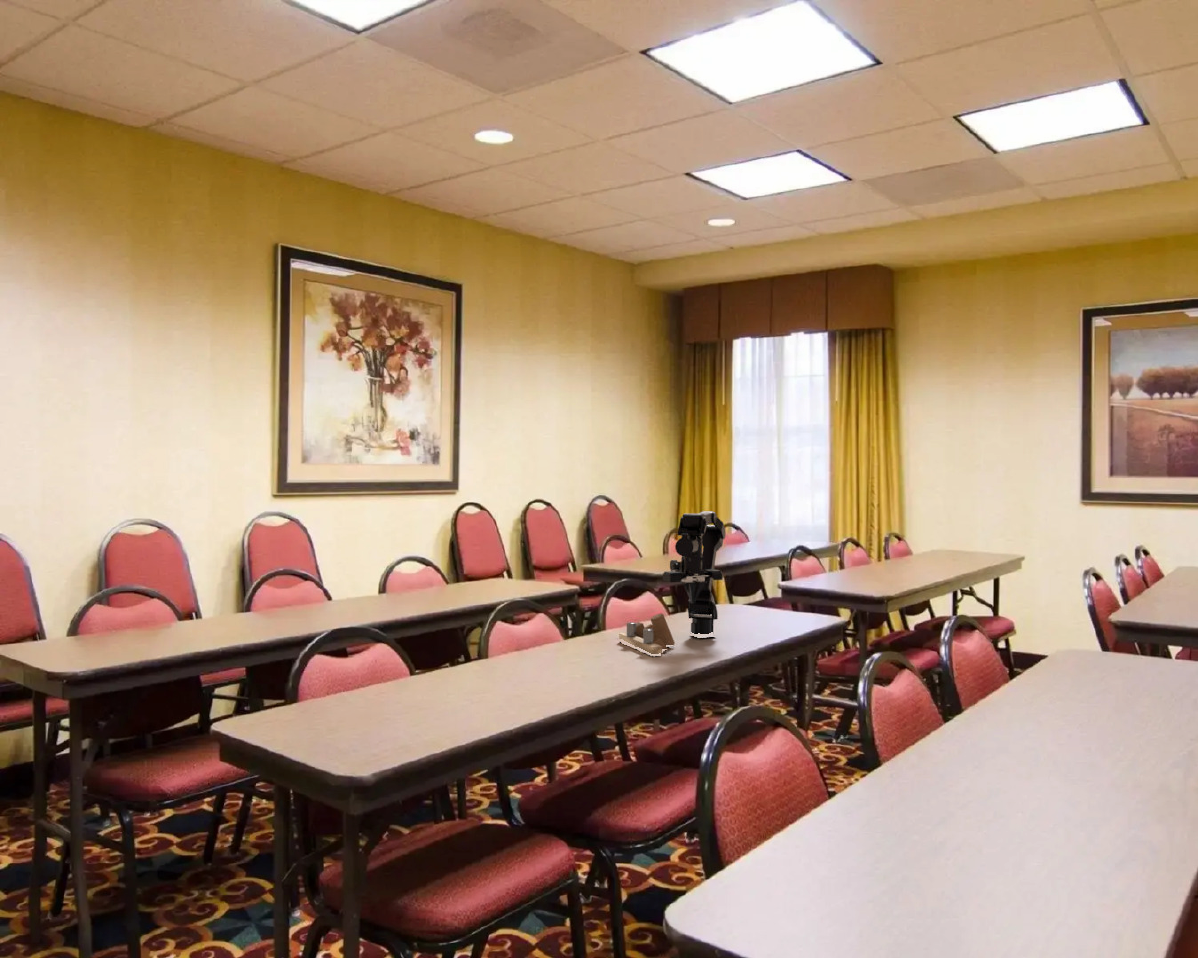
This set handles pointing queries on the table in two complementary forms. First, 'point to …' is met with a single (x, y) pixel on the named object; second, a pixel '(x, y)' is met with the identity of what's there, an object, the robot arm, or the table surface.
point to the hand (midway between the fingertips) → (692, 603)
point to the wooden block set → (657, 631)
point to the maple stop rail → (641, 644)
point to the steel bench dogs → (646, 633)
